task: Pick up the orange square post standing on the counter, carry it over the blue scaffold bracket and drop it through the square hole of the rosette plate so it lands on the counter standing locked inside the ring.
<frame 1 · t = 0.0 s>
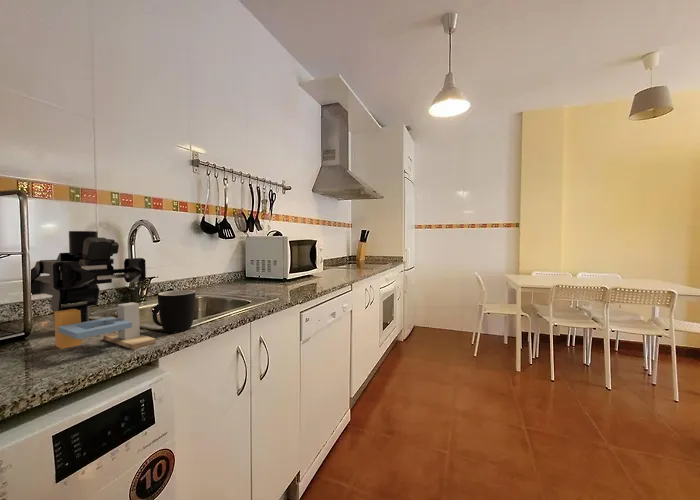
hand: (118, 274, 72), 17 cm above the countertop, tool horizontal, fingers open, 9 cm apart
bracket: (96, 349, 70), resting on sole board
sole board: (129, 341, 76), on the countertop
mug: (173, 331, 84), on the countertop
orange square post: (68, 345, 73), on the countertop
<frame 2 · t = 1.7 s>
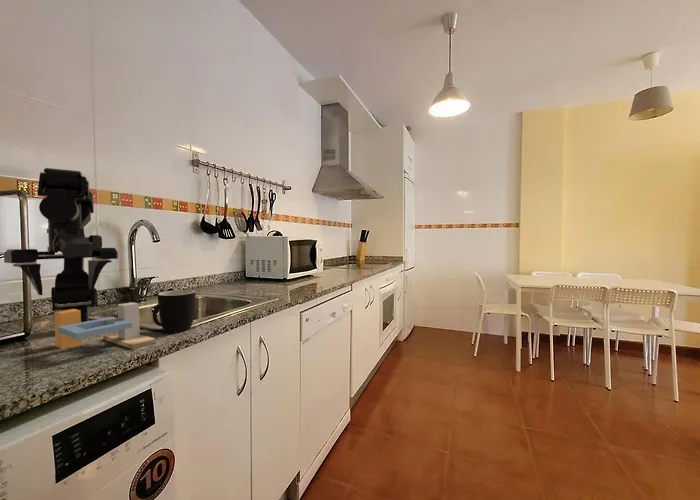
hand: (67, 292, 73), 12 cm above the countertop, tool pointing down, fingers open, 9 cm apart
nothing on the countertop moved.
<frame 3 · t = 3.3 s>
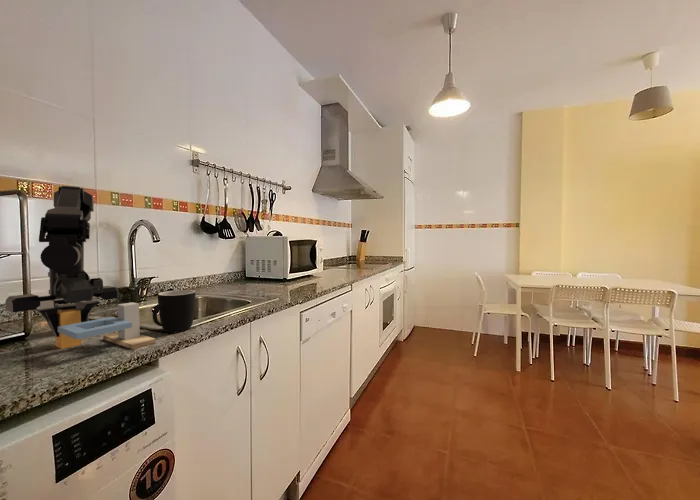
hand: (68, 334, 73), 3 cm above the countertop, tool pointing down, fingers closed on orange square post, 4 cm apart
orange square post: (68, 345, 73), on the countertop, touching gripper
everything else where it was.
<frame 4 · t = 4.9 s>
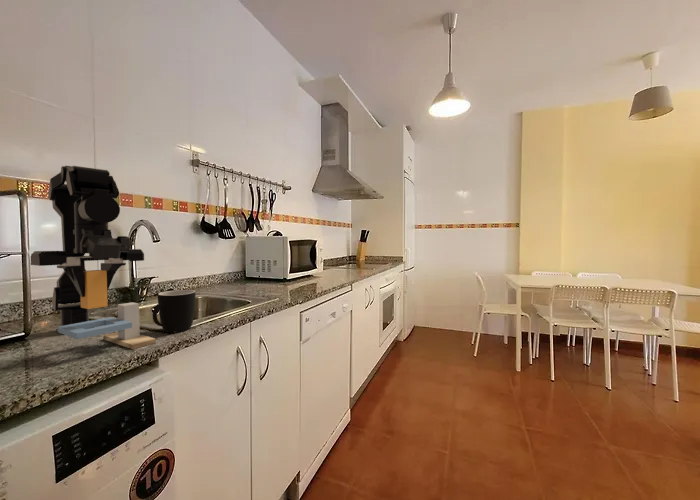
hand: (93, 295, 70), 12 cm above the countertop, tool pointing down, fingers closed on orange square post, 4 cm apart
orange square post: (94, 306, 70), point 10 cm above the countertop, touching gripper
everything else where it was.
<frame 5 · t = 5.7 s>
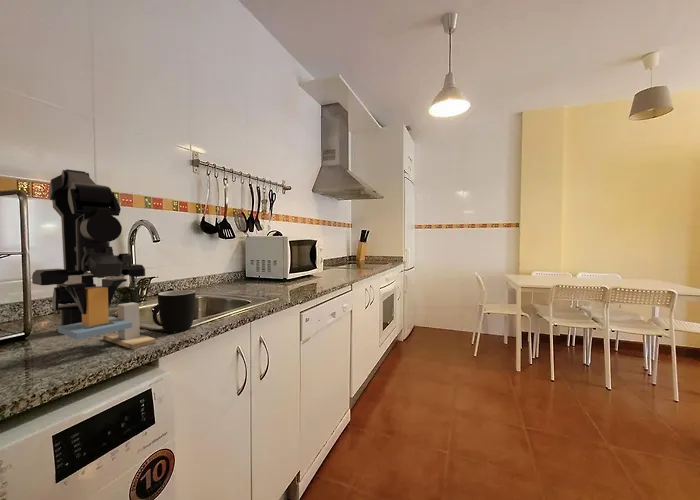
hand: (95, 312, 70), 8 cm above the countertop, tool pointing down, fingers closed on orange square post, 4 cm apart
orange square post: (95, 323, 70), point 6 cm above the countertop, touching gripper
everything else where it was.
when the fingers open (6 cm above the countertop, at t = 6.4 s): orange square post drops 4 cm, on the countertop.
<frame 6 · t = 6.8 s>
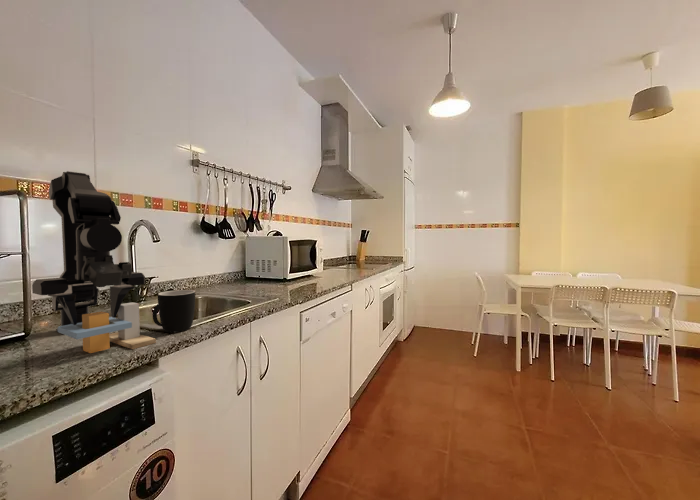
hand: (95, 320, 70), 6 cm above the countertop, tool pointing down, fingers open, 7 cm apart
orange square post: (96, 349, 70), on the countertop
everything else where it was.
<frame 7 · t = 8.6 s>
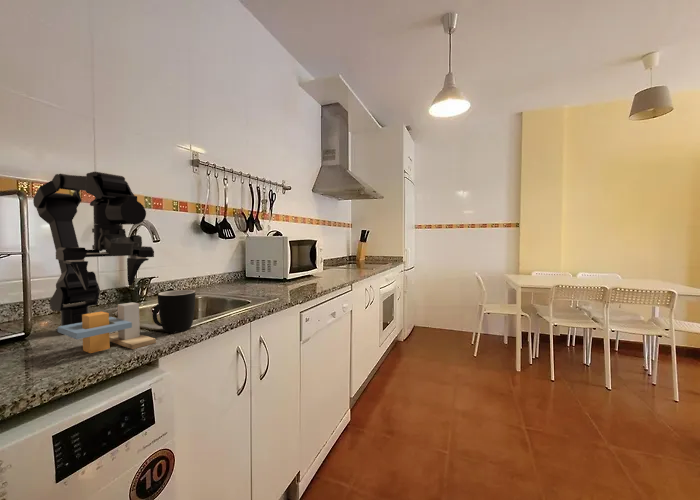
hand: (109, 287, 78), 13 cm above the countertop, tool pointing down, fingers open, 9 cm apart
nothing on the countertop moved.
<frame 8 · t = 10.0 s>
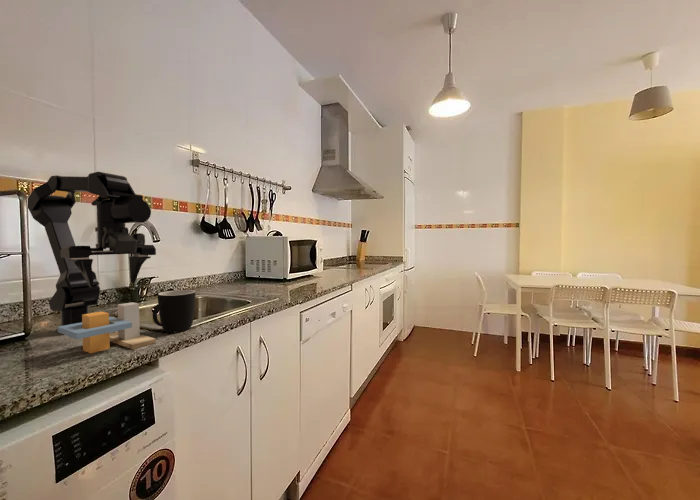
hand: (113, 284, 80), 13 cm above the countertop, tool pointing down, fingers open, 9 cm apart
nothing on the countertop moved.
at the end: orange square post 0.0 cm off-centre on the bracket, point 0.0 cm above the bracket's base; orange square post tilted 0°; the gripper is holding nothing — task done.
